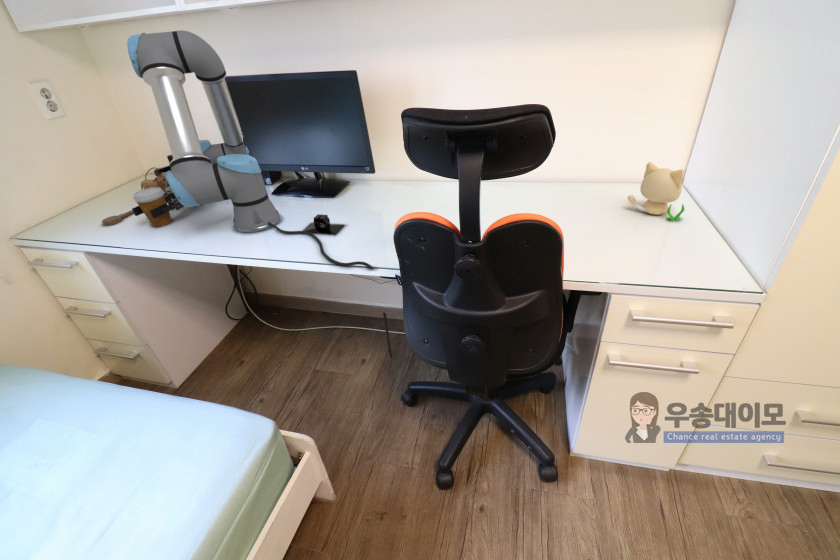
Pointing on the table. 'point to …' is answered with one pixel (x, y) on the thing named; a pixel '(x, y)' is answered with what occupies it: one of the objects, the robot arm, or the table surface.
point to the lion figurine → (156, 182)
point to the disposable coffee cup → (152, 205)
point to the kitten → (659, 190)
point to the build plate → (323, 226)
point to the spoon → (116, 218)
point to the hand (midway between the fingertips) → (143, 213)
